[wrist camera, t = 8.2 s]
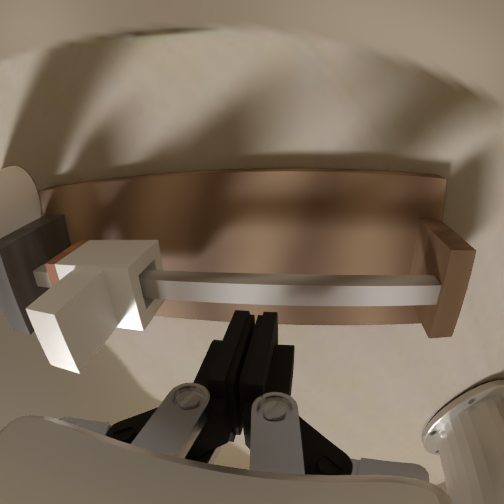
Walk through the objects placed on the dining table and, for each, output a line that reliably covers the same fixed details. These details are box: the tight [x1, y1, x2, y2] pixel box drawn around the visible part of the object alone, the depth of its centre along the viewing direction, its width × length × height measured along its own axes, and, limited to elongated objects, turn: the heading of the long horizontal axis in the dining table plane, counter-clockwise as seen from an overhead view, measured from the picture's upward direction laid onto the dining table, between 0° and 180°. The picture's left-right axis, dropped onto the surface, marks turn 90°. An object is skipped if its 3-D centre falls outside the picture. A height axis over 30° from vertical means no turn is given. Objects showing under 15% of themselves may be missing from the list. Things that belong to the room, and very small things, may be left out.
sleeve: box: [26, 240, 166, 374], centre depth 14 cm, size 5×4×8 cm
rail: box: [0, 168, 476, 338], centre depth 17 cm, size 28×10×8 cm, turn 93°
